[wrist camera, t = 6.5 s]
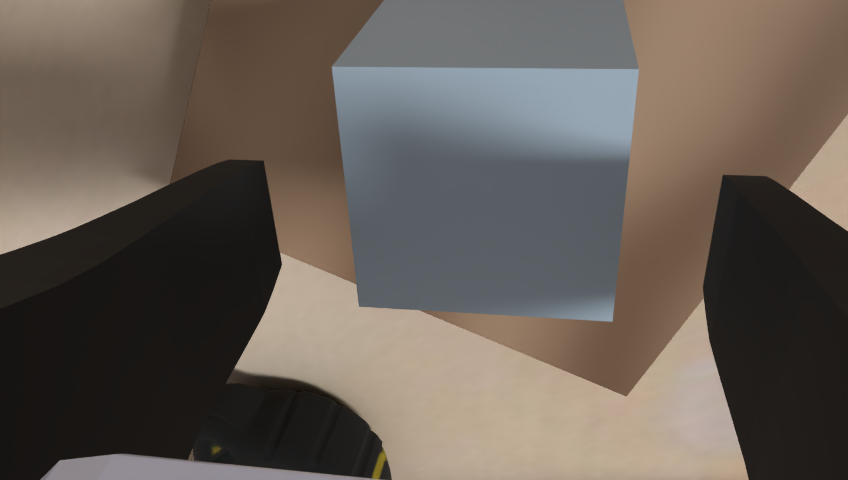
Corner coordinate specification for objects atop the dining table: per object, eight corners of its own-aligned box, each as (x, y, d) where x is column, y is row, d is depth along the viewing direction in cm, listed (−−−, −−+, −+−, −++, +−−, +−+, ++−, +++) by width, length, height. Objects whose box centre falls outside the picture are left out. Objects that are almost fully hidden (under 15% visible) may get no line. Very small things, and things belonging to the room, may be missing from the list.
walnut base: (961, -106, 16) (1008, -91, 14) (622, 351, 23) (626, 396, 22) (336, -407, 15) (307, -429, 13) (195, 171, 22) (165, 204, 21)
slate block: (616, -28, 16) (638, 69, 11) (600, 167, 18) (612, 321, 13) (404, -26, 16) (332, 66, 11) (414, 162, 19) (359, 306, 14)
